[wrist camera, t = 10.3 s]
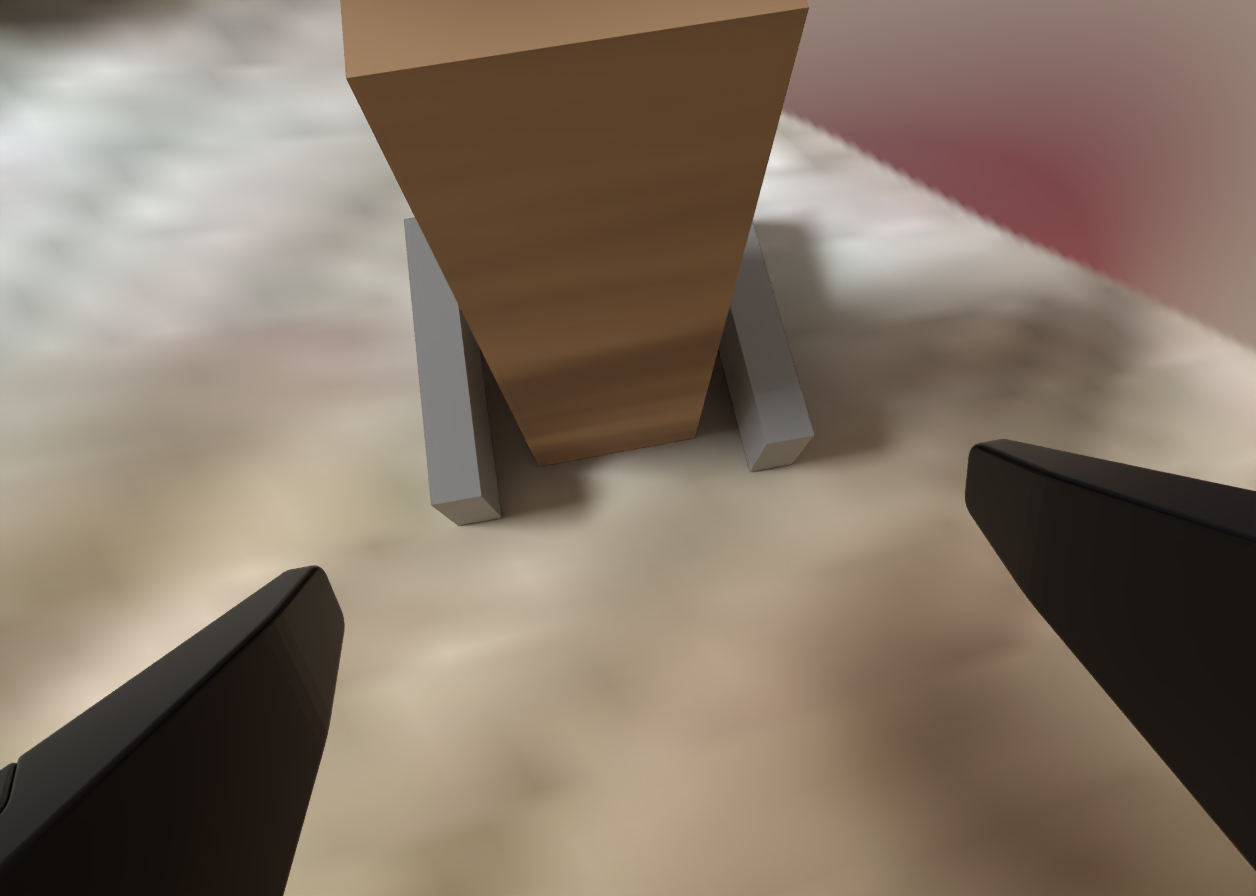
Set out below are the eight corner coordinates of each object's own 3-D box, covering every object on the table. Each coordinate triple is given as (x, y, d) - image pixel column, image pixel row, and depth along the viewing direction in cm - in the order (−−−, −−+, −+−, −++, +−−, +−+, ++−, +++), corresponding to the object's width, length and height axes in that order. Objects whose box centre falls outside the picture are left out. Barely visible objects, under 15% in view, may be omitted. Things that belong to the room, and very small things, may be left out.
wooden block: (695, 437, 19) (808, 7, 6) (538, 466, 19) (345, 77, 6) (662, 301, 20) (706, -272, 8) (517, 326, 20) (324, -220, 8)
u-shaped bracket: (791, 464, 18) (814, 434, 16) (458, 525, 18) (431, 505, 16) (725, 221, 21) (736, 165, 19) (430, 270, 21) (403, 219, 18)
